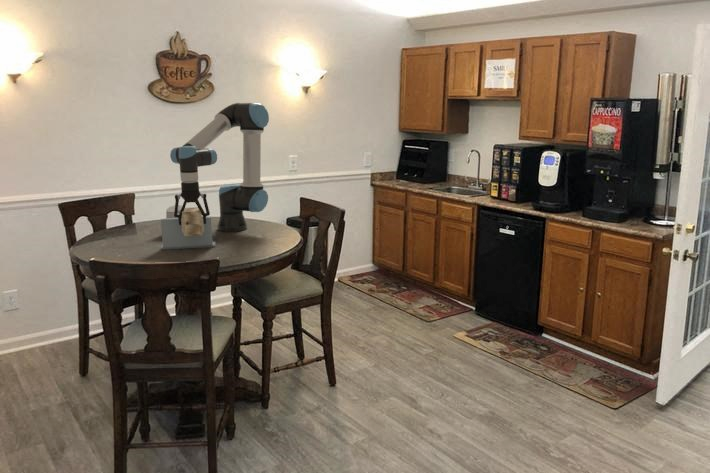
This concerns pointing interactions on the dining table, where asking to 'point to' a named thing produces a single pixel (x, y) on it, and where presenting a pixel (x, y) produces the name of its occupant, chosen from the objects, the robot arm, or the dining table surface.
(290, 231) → the dining table surface
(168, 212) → the smart speaker
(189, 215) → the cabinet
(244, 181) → the robot arm
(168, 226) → the wall board
